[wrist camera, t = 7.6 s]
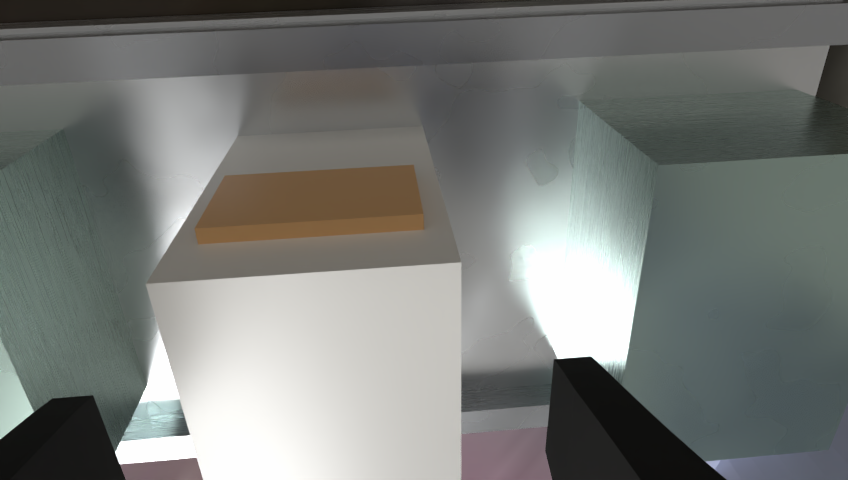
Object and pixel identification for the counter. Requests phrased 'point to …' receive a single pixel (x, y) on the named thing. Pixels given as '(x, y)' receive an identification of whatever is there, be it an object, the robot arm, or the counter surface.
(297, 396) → the block
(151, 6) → the counter surface
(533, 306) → the din panel
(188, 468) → the counter surface
